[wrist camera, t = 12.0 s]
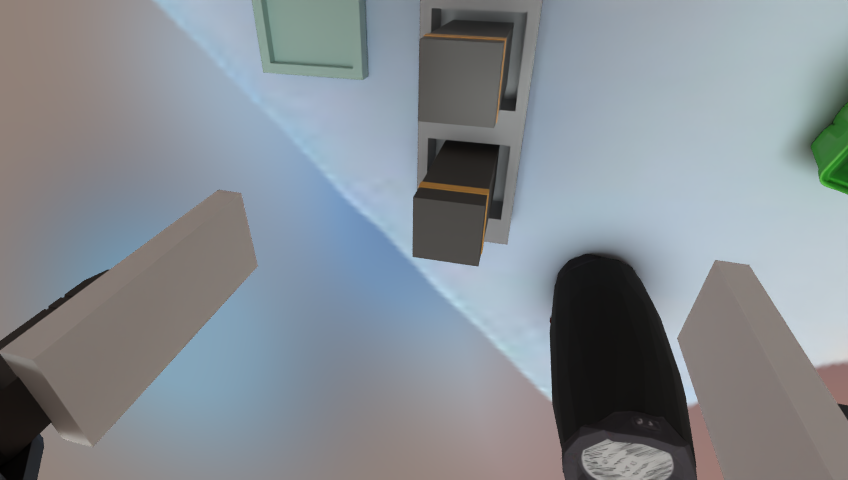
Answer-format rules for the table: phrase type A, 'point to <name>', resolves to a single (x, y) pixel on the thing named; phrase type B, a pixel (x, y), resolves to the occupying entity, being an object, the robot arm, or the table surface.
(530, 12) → the socket strip
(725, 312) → the robot arm
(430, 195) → the plug
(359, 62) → the tray
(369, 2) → the table surface
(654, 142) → the table surface
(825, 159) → the fruit basket
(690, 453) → the portable speaker
